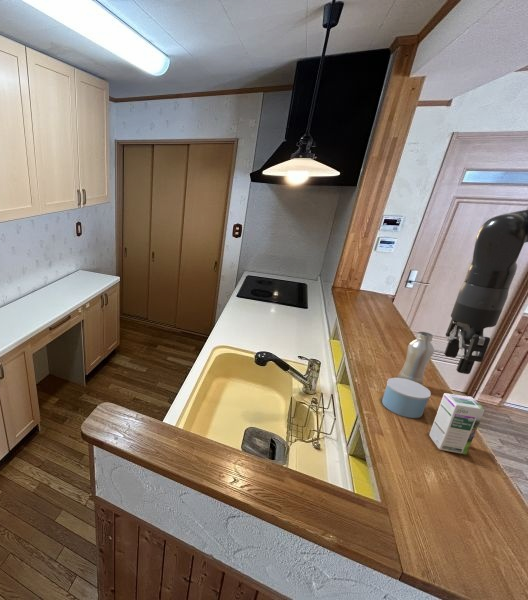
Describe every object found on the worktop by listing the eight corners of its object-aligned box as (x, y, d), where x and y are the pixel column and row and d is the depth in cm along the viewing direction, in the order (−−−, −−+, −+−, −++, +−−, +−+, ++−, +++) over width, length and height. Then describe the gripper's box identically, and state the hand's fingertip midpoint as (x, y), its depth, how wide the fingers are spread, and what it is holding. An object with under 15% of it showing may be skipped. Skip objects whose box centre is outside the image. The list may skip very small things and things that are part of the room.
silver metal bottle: (398, 377, 117) (414, 327, 110) (422, 386, 112) (441, 334, 105) (393, 384, 113) (409, 333, 106) (418, 393, 108) (437, 340, 101)
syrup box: (439, 450, 86) (457, 405, 81) (427, 434, 91) (444, 391, 86) (466, 455, 84) (486, 409, 79) (453, 439, 89) (471, 395, 84)
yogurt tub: (417, 402, 104) (424, 382, 101) (428, 422, 95) (436, 401, 93) (378, 393, 108) (383, 374, 106) (385, 412, 100) (391, 392, 97)
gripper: (518, 316, 66) (489, 383, 72) (487, 295, 78) (465, 354, 84) (469, 310, 70) (445, 374, 75) (446, 291, 81) (427, 348, 87)
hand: (455, 364), depth 79 cm, fingers open, 8 cm apart
